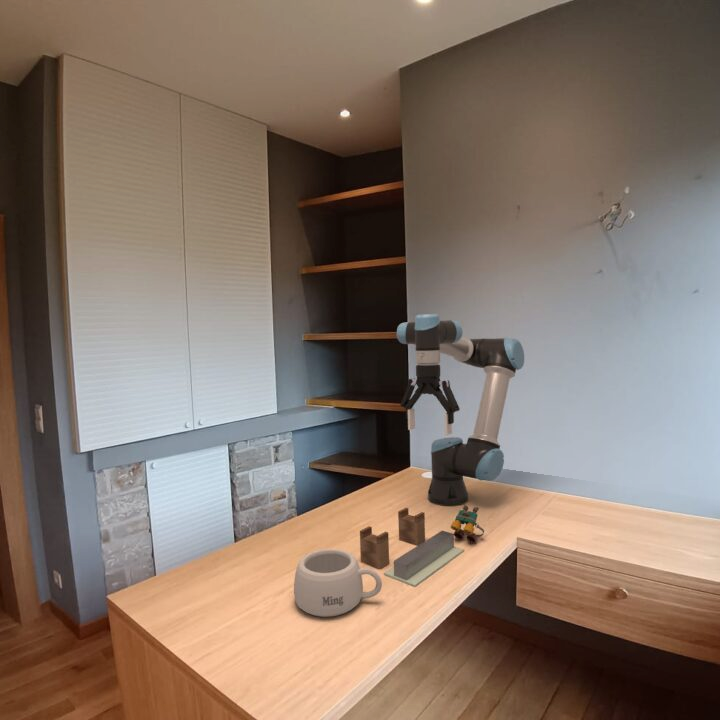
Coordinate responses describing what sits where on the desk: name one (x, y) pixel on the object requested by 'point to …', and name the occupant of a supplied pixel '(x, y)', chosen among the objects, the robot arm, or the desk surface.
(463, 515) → the binoculars
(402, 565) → the rail
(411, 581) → the mat
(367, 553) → the rack
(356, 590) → the mug
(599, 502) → the desk surface
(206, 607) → the desk surface
